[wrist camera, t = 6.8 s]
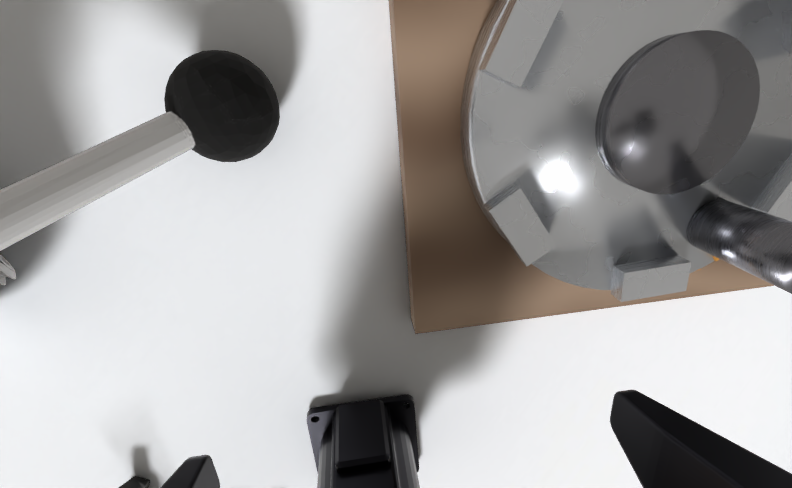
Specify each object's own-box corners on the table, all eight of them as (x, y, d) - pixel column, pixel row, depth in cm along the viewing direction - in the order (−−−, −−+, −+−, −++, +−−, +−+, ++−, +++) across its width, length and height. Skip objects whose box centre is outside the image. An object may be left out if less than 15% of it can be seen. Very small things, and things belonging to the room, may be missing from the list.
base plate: (749, 274, 25) (778, 287, 23) (411, 318, 23) (416, 337, 22) (882, -180, 17) (941, -208, 15) (377, -164, 15) (381, -194, 13)
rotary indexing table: (385, 72, 16) (410, 68, 10) (747, -224, 14) (1038, -440, 8) (560, 325, 22) (640, 416, 16) (835, 144, 20) (1042, 172, 14)
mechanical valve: (-383, 212, 14) (-1409, 241, 4) (113, 45, 24) (214, -77, 13) (-105, 396, 19) (-215, 638, 9) (215, 195, 29) (348, 191, 18)
